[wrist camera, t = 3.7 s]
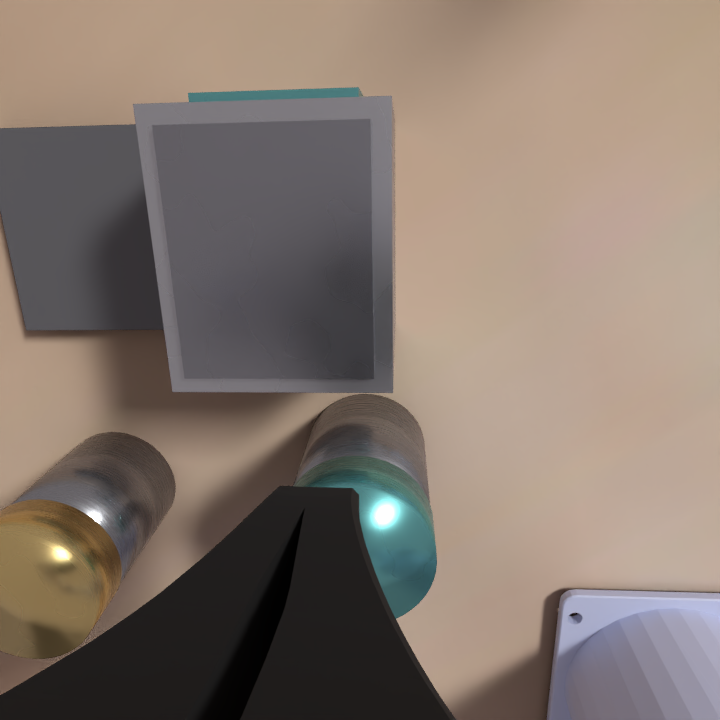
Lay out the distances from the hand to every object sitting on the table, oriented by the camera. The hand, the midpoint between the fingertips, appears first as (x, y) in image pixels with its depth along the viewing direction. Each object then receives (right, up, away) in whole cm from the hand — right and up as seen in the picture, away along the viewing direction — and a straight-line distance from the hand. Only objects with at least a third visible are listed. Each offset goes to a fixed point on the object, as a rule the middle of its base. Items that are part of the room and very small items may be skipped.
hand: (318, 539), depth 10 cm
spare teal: (+1, 0, +10) cm, 10 cm away
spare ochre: (-8, -2, +11) cm, 14 cm away
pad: (-7, +7, +8) cm, 13 cm away
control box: (-1, +7, +8) cm, 11 cm away
